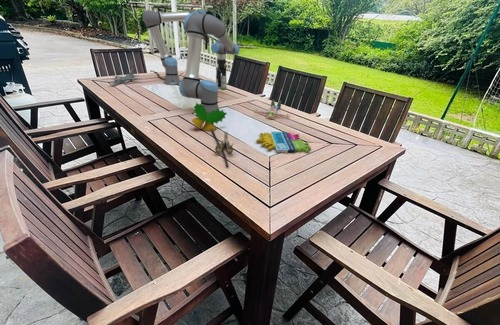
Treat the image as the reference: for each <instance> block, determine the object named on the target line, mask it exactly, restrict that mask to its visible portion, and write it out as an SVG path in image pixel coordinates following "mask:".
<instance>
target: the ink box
mask: <svg viewBox="0 0 500 325" xmlns="http://www.w3.org/2000/svg"><path fill="white" fill-rule="evenodd" d="M227 77H228V76H227V75H226V76H222V75H221V79H220V80H221V87H218V91H226V90H227V83H228V82H227ZM215 83H217V86H218V79H216V78H215Z"/></svg>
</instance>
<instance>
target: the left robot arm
mask: <svg viewBox="0 0 500 325" xmlns="http://www.w3.org/2000/svg"><path fill="white" fill-rule="evenodd" d="M193 13H196V14H206V10H205V9H203V8H202V9H200V8H198V9H197V10H185V11H167V12H166V11H165V12H161V11H159V10H158V11H157V10H155V11H154V10H151V9H148V10H147V9H146V10H144V11H143V12H142V16H141V18H142V21H143V22H144V25H145V26H146V29H147V30H149V31H150V34H151V36H152V39H153V41H154V43H155V46H156V48H157V51H158V52H159V56H160V57H159V60H160V62H161V64H162V66H163V68H164V70H165V71H164V72H165V78H164V77H161V76H160V75H159V73H158V72H156V71H154V70H150V71H149V72H150V73H152V72H153V73H154V74H157V73H158V74H157V77H158V78H159V79H161V80H164V84H165V85H168V86H169V85H170V86H175V85H176V86H177V85H179V83H180V81H181V78H180V77H179V71H178V70H179V69H178V59H177V58H175V57H173V55H172V54H171V53H170V52H169V49H168V47H167V45H166V41H165V40H164V37H163V35H162V33H161V29H160V25H162V24H163V23H175V22H184V20H185V17H186V16H187V15H188V14H193ZM203 41H204V50H208V46H209V45H208V44H209V43H210V40H209V36H208V34H205V36H204V39H203Z"/></svg>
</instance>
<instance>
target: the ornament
mask: <svg viewBox="0 0 500 325" xmlns="http://www.w3.org/2000/svg"><path fill="white" fill-rule="evenodd" d="M219 110H220V108H219V109H217V110H216V111H214V110H212V112H211V113H208V112H206V109H204V106H201V103H198V102H195V105H194V106H193V112H194V113H195V118H192V119H191V122H192V123H193V125H195V127H197V128H198V129H202V130H203V131H206V132H212V129H213V131H215V130H216V126H215V124H218V123H219V122H223V119H226V115H227V114H228V113H227V112H224V110H223V109H221V110H220V111H219ZM207 113H208V115H207ZM214 123H215V124H214Z"/></svg>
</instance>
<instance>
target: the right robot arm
mask: <svg viewBox="0 0 500 325" xmlns="http://www.w3.org/2000/svg"><path fill="white" fill-rule="evenodd" d="M183 27H184V31H185V33H186V35H187V37H188V44H187V55H186V56H187V57H186V66H185V67H186V69H185V75H183V76H182V79H180V83H179V84H178V90H179V93H180V95H181V96H182V97H184V98H188V99H195V100H200V104H201V106H204V109H206V112H208V113H211V112H212V110H214V111H216V110H217V109H219V111H221V110H220V108H219V102H218V99H219V98H218V97H219V89H218V87H221V80H220V79H221V76H227V65H226V63H227V60H226V59H227V55H233V56H235V55H239V54H240V51H241V50H240V45H239V44H236V43H234V42H233V40H232V38H231V37H230V35H229V33H228V32H227V29H226V26H225V25H224V23H223V22H222V21H221V20H220V19H219V18H217V17H216V16H214V15H212V14H206V13H205V14H196V13H193V14H188V15H187V16H186V17H185V20H184V21H183ZM205 34H207V35H210V36H213V37H215V38H216V39H217V40H216V42H214V43H212V44H211V45H210V51H211V52H212V53H213V54H216V58H217V59H216V63H217V67H215V71H216V72H215V73H216V74H215V80H216V79H218V86H217V83H216V81H213V80H210V79H201V78H200V64H201V53H202V42H203V40H204V36H205ZM208 113H207V115H208ZM214 131H215V130H213V129H212V131H211V133H212V135H213V138H214V139H215V142H217V144H218V145H220V144H221V142H220V141H219V139H218V138H217V136H216V134H215V132H214ZM221 153H222V155H223V159H224V162H225V166H226V168H229V163H228V159H227V156H226V154H225V151H224V149H223V150H222V151H221Z"/></svg>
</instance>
